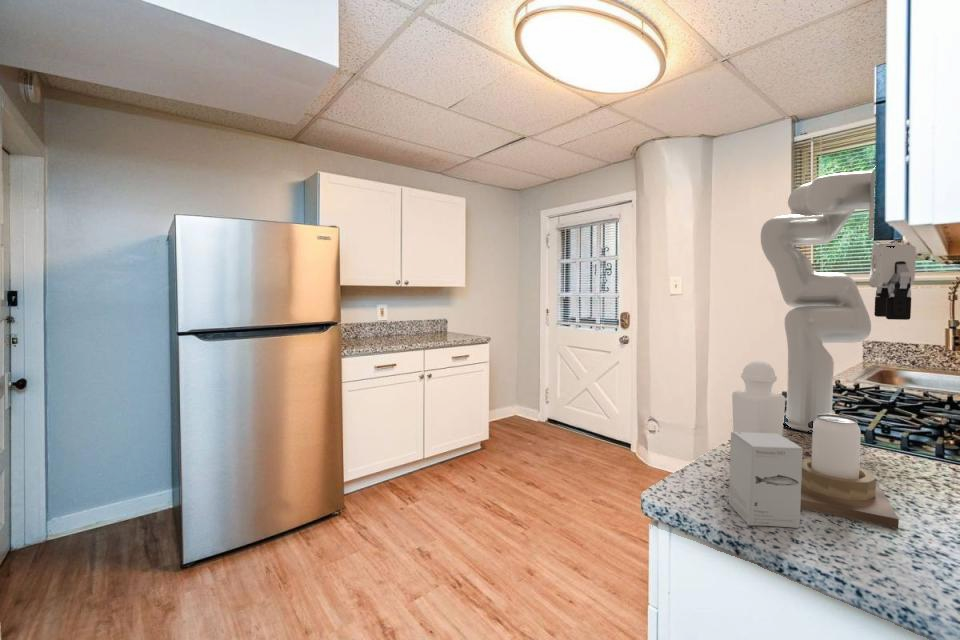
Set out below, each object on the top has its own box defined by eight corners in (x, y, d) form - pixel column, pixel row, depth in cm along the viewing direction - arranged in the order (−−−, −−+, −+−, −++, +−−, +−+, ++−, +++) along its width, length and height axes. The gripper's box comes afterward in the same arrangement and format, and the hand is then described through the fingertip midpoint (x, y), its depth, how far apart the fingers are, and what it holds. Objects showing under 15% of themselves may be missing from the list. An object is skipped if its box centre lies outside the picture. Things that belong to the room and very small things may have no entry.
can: (860, 497, 71) (863, 426, 71) (811, 487, 75) (813, 419, 74) (856, 483, 76) (859, 416, 76) (810, 474, 80) (812, 411, 80)
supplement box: (749, 527, 66) (751, 445, 65) (727, 503, 73) (729, 430, 72) (801, 530, 65) (804, 447, 64) (775, 505, 72) (777, 431, 71)
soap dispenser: (755, 461, 91) (758, 357, 89) (784, 474, 84) (787, 362, 83) (729, 465, 89) (731, 359, 88) (757, 478, 83) (759, 364, 81)
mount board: (786, 468, 87) (787, 446, 86) (872, 483, 80) (873, 459, 79) (791, 506, 72) (792, 480, 71) (898, 528, 65) (899, 499, 64)
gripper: (860, 234, 91) (857, 315, 92) (878, 224, 77) (874, 320, 78) (909, 231, 87) (905, 316, 88) (938, 219, 72) (933, 321, 73)
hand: (891, 317), depth 83 cm, fingers open, 9 cm apart
